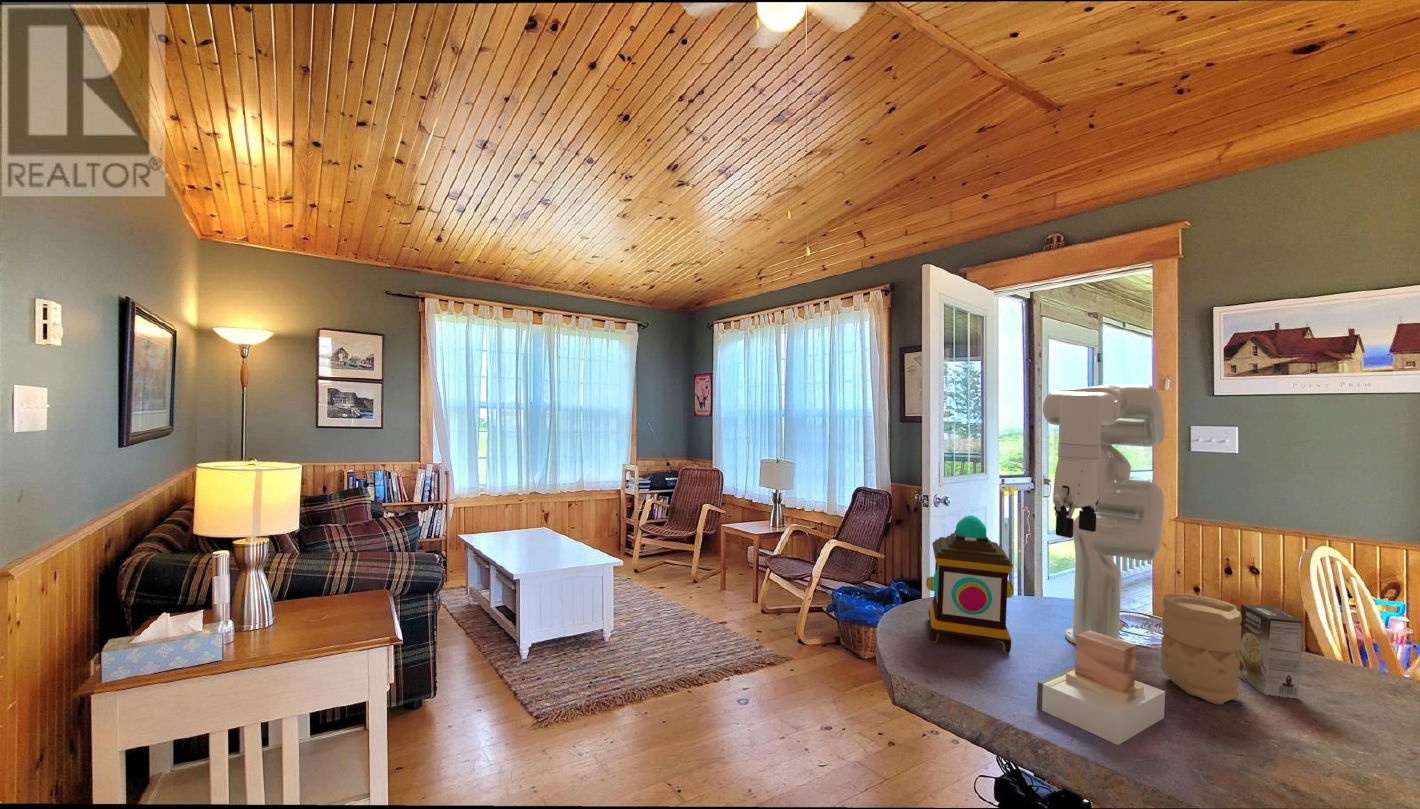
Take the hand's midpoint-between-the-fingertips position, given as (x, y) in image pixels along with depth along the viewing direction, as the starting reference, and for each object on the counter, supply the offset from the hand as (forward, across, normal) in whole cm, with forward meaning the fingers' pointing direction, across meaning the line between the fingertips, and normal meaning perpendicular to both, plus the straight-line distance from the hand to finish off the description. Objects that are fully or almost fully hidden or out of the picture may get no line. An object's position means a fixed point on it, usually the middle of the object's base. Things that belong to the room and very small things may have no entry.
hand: (1075, 533), depth 127 cm
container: (+32, -18, +16) cm, 40 cm away
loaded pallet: (+26, +10, +10) cm, 29 cm away
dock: (+31, +10, +11) cm, 34 cm away
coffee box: (+32, -33, +24) cm, 52 cm away
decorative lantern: (+32, -1, -25) cm, 40 cm away
